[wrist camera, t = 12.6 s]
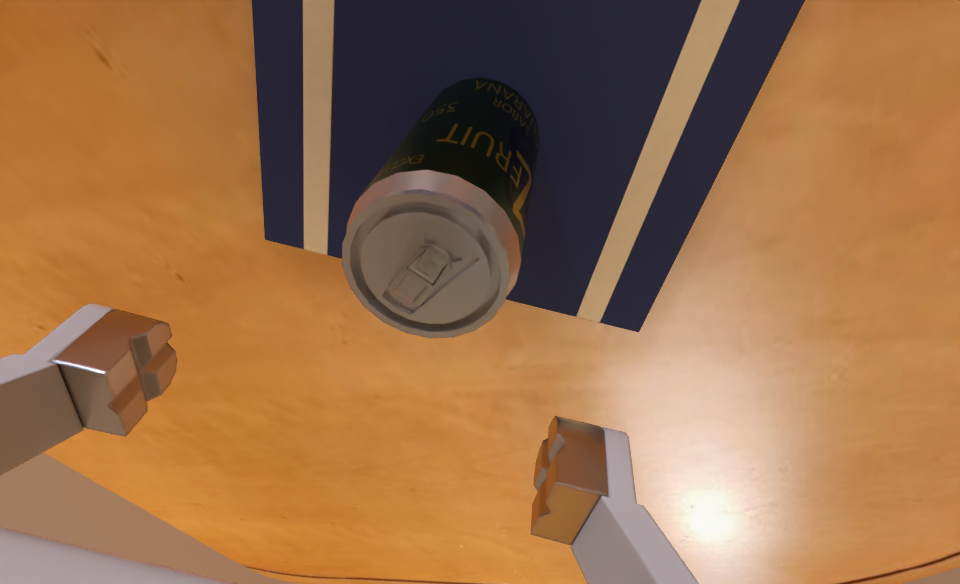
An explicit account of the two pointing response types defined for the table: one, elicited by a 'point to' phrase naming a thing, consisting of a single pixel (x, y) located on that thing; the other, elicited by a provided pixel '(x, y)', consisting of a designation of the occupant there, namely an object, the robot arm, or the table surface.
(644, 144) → the cloth
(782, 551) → the table surface
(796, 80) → the table surface
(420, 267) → the green drink can
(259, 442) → the table surface
